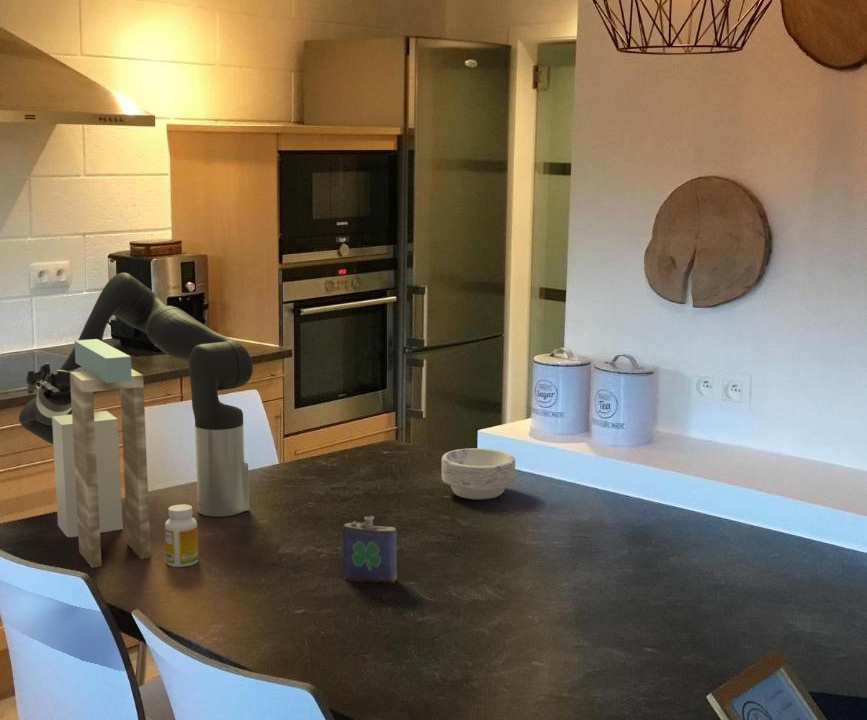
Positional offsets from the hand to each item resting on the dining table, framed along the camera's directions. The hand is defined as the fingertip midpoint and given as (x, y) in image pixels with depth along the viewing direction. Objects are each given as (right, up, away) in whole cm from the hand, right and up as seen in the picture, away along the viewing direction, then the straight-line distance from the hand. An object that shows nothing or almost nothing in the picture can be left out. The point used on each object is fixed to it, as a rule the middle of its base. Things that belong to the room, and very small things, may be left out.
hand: (71, 365), depth 214 cm
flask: (+58, -35, -29) cm, 74 cm away
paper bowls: (+78, -27, +20) cm, 85 cm away
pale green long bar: (+12, -1, -21) cm, 24 cm away
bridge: (+13, -33, -18) cm, 40 cm away
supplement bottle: (+26, -34, -21) cm, 48 cm away
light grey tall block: (+4, -30, -3) cm, 31 cm away
